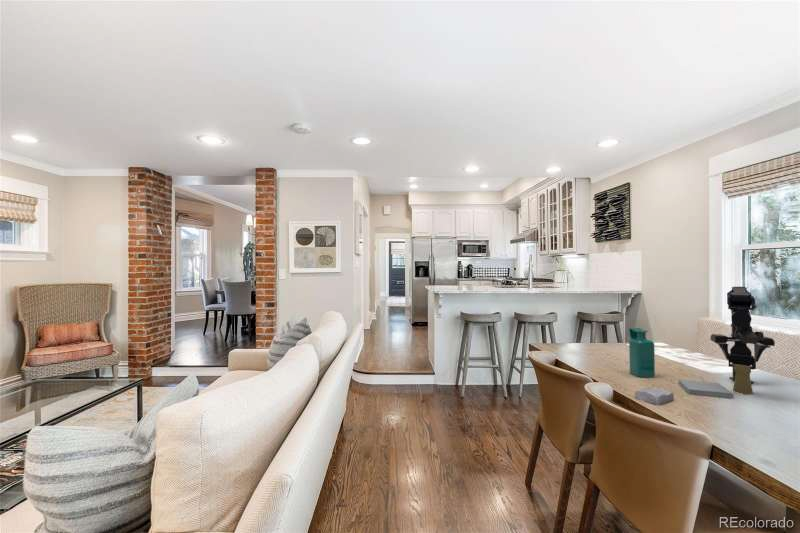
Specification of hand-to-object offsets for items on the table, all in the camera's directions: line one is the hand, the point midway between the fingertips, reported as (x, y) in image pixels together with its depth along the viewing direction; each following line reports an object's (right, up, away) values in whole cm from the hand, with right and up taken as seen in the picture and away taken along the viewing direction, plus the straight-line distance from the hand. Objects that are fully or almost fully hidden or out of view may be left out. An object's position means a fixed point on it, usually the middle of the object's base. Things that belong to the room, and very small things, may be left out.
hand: (741, 360), depth 149 cm
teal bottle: (-24, -14, +26) cm, 38 cm away
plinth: (-14, -13, +2) cm, 19 cm away
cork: (0, -13, 0) cm, 13 cm away
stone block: (-41, -14, -6) cm, 44 cm away
